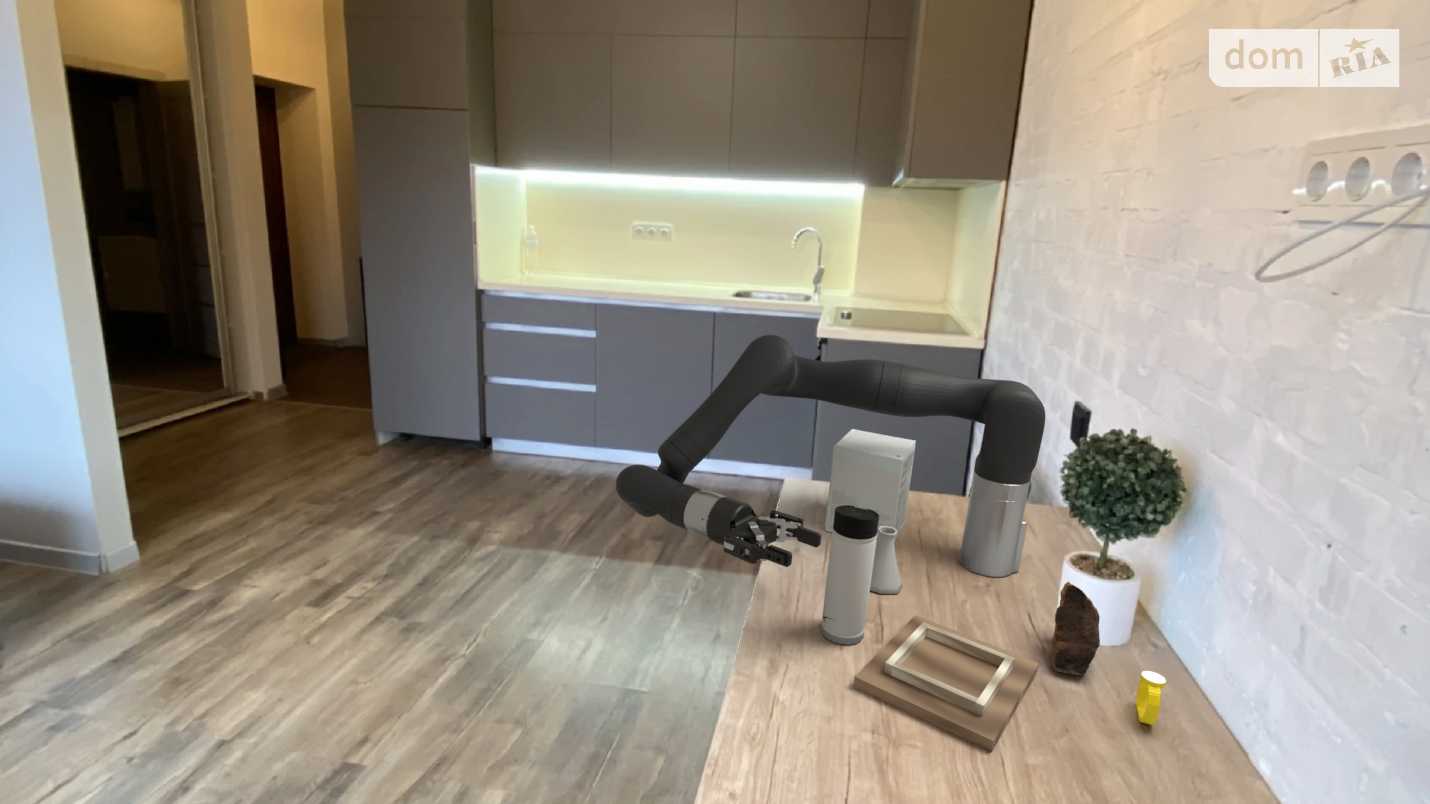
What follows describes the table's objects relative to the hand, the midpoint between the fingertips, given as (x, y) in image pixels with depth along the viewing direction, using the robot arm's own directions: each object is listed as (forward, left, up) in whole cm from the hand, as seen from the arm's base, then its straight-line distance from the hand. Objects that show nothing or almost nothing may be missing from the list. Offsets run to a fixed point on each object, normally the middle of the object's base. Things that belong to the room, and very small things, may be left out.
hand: (805, 550), depth 111 cm
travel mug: (-5, +5, -11) cm, 13 cm away
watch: (-39, +25, -11) cm, 48 cm away
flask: (-16, -9, -11) cm, 21 cm away
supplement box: (-21, -31, -11) cm, 39 cm away
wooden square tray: (-16, +17, -11) cm, 26 cm away
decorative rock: (-37, +12, -11) cm, 40 cm away
